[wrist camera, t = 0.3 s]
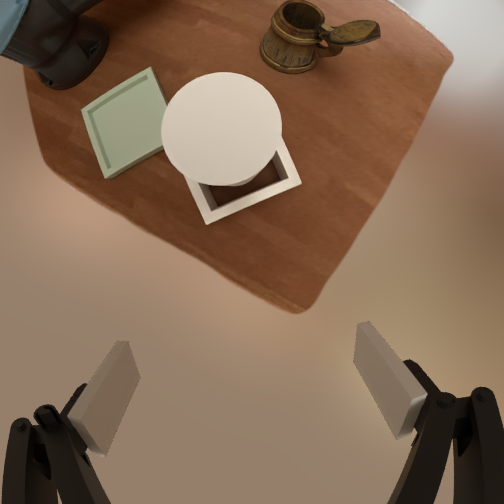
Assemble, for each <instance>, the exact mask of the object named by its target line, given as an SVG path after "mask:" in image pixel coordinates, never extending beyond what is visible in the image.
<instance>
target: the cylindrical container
mask: <svg viewBox="0 0 504 504" xmlns="http://www.w3.org/2000/svg"><path fill="white" fill-rule="evenodd" d="M281 132H282V121H281V116H280V111H279V109H278V106H277V104H276V102H275V100H274V99H273V97H272V96H271V94H270V93H269V92H268V91H267V90H266V89H265V88H264V87H263V86H262V85H261V84H259V83H258V82H256V81H254V80H253V79H251V78H248V77H246V76H243V75H241V74H235V73H229V72H221V73H212V74H207V75H204V76H201V77H199V78H196V79H194V80H193V81H191V82H189V83H187V84H186V85H185V86H184V87H182V88H181V89H180V90H179V91H178V92H177V93H176V94H175V96H174V97H173V98H172V99H171V101H170V102H169V104H168V106H167V108H166V110H165V113H164V116H163V120H162V126H161V137H162V144H163V147H164V150H165V153H166V155H167V156H168V158H169V160H170V161H171V163H172V164H173V165H174V166H175V167H176V168H177V169H178V170H179V171H180V172H181V173H182V174H184V175H185V176H187V177H188V178H190V179H192V180H195V181H197V182H199V183H203V184H208V185H218V186H240V185H244V184H246V183H248V182H250V181H251V180H252V179H253V178H254V177H255V176H256V175H257V174H258V173H259V172H260V171H261V170H262V169H263V168H264V167H265V166H266V165H267V163H268V162H269V161H270V160H271V158H272V157H273V156H274V154H275V152H276V149H277V147H278V145H279V142H280V137H281Z"/></svg>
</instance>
